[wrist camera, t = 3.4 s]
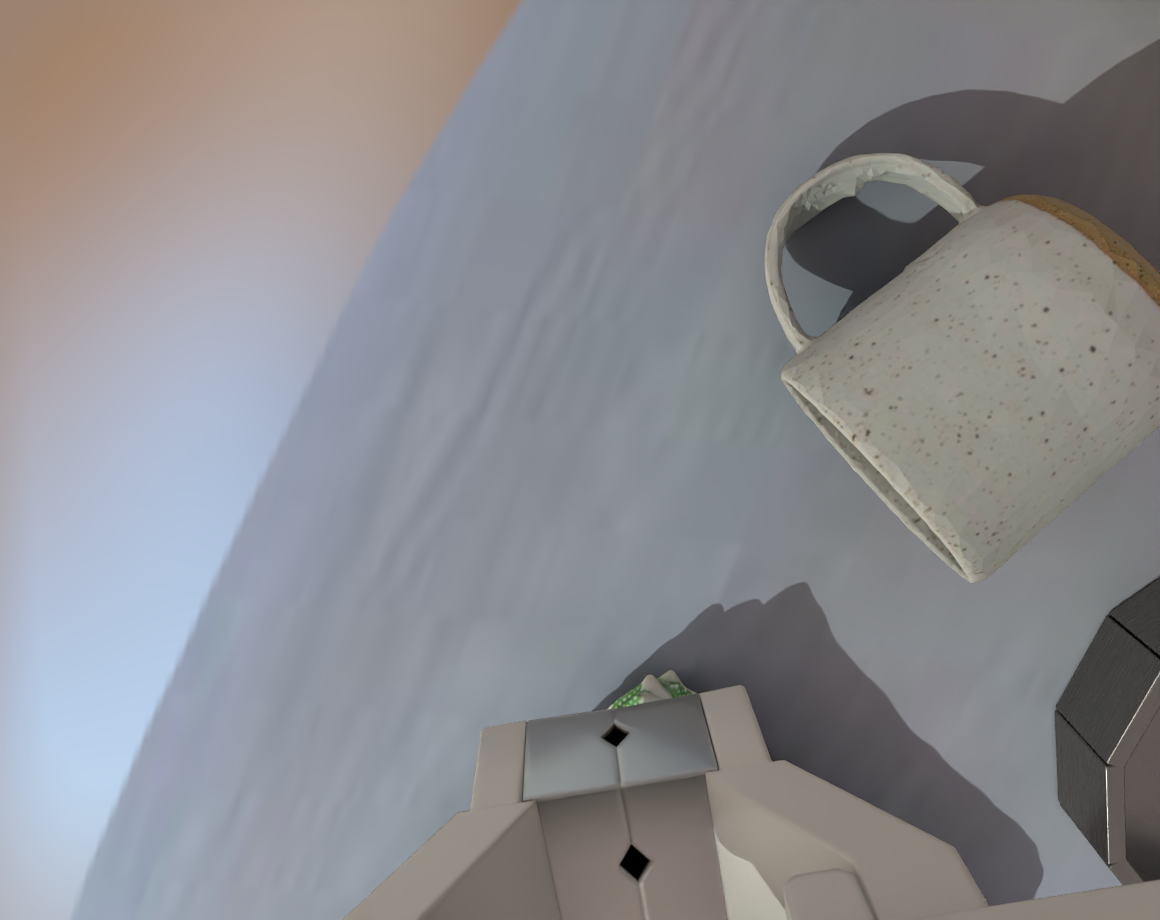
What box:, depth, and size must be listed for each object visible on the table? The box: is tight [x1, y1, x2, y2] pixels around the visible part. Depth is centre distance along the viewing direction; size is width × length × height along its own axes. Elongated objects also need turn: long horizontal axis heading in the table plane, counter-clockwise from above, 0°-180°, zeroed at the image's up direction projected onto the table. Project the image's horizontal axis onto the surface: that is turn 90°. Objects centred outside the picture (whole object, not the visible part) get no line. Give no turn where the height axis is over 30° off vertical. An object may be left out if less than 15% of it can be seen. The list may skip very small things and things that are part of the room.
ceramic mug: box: [765, 153, 1160, 583], centre depth 27 cm, size 11×8×8 cm
